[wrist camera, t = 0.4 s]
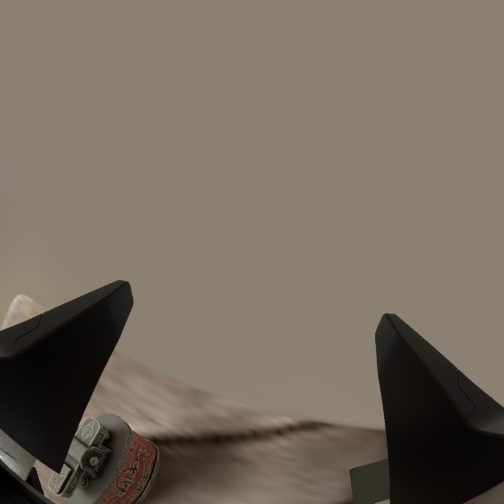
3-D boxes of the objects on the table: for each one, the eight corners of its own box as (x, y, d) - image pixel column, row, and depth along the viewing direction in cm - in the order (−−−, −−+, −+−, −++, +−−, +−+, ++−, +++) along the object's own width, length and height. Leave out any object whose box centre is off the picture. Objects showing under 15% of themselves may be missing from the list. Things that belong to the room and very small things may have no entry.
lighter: (136, 434, 18) (81, 387, 12) (170, 451, 17) (123, 414, 11) (101, 499, 12) (26, 479, 6) (134, 519, 11) (66, 517, 5)
